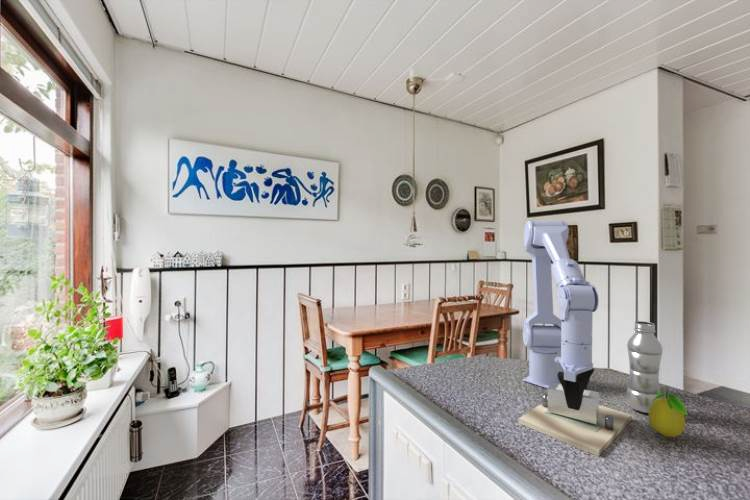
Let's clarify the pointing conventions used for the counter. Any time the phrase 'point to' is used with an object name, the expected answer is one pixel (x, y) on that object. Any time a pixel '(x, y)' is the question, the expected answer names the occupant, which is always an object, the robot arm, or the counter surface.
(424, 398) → the counter surface
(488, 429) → the counter surface
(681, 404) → the lemon
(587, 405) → the block
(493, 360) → the counter surface
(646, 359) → the plastic bottle
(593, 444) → the pin tray
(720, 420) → the counter surface
